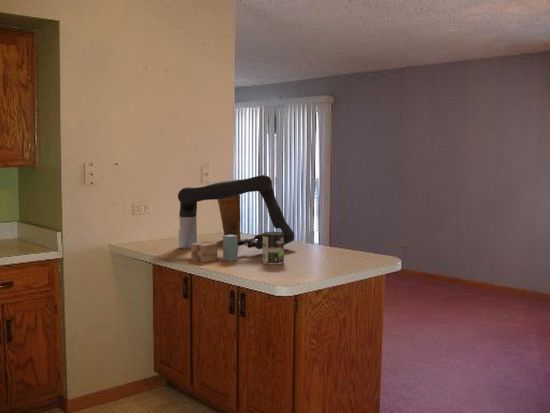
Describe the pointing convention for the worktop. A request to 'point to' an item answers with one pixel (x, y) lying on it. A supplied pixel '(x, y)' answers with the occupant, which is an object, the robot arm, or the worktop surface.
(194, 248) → the block
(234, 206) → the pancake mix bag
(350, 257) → the worktop surface
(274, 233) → the coffee can
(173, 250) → the worktop surface
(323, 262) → the worktop surface
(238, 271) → the worktop surface
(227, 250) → the post
